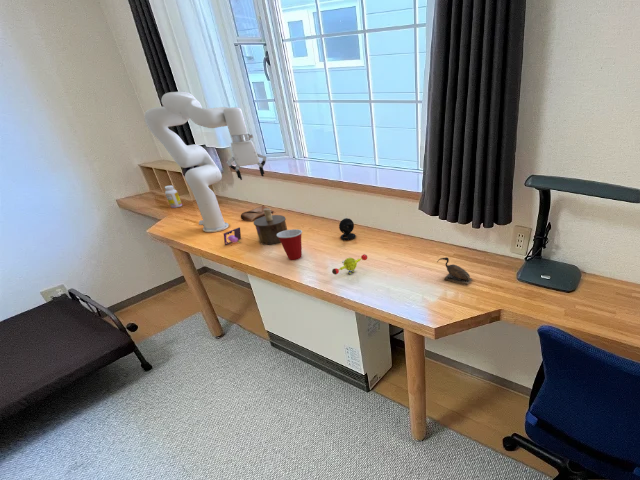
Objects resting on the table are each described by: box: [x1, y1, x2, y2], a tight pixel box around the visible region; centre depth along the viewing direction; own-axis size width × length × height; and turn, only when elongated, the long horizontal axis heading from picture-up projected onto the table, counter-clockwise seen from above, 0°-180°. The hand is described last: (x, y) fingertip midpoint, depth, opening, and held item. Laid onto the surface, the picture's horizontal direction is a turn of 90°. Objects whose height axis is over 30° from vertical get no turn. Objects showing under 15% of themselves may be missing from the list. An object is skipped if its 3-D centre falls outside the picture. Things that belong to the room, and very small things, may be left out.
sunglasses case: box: [240, 204, 275, 222], centre depth 210 cm, size 18×7×7 cm
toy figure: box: [331, 253, 368, 275], centre depth 146 cm, size 18×6×7 cm, turn 141°
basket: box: [254, 220, 288, 246], centre depth 178 cm, size 14×14×10 cm
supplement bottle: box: [164, 184, 183, 209], centre depth 228 cm, size 7×7×13 cm
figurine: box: [437, 256, 473, 286], centre depth 139 cm, size 14×4×9 cm, turn 62°
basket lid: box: [253, 207, 287, 227], centre depth 174 cm, size 15×15×7 cm
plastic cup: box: [276, 228, 303, 261], centre depth 159 cm, size 11×11×12 cm
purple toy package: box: [223, 227, 242, 246], centre depth 177 cm, size 7×5×9 cm
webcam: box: [338, 217, 357, 241], centre depth 177 cm, size 8×8×10 cm
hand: (251, 177), depth 170 cm, fingers open, 9 cm apart
